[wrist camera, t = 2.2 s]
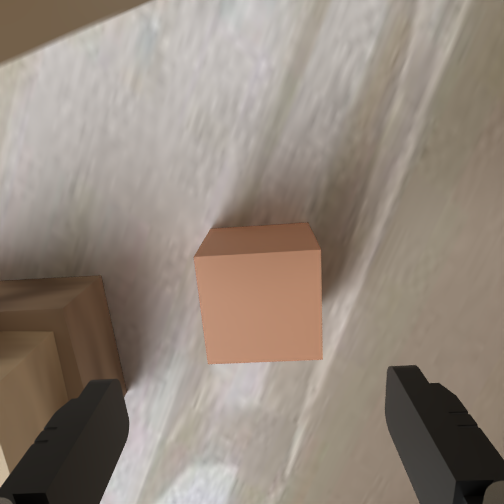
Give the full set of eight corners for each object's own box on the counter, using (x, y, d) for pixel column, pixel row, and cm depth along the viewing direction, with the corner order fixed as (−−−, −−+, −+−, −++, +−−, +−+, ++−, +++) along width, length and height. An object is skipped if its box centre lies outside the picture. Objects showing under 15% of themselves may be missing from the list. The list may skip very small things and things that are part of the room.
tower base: (102, 273, 21) (62, 308, 17) (128, 389, 24) (98, 444, 20) (-31, 281, 22) (-103, 316, 18) (8, 393, 25) (-46, 448, 20)
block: (307, 222, 20) (321, 249, 15) (310, 310, 22) (322, 359, 17) (210, 228, 20) (193, 257, 15) (220, 314, 22) (208, 364, 17)
